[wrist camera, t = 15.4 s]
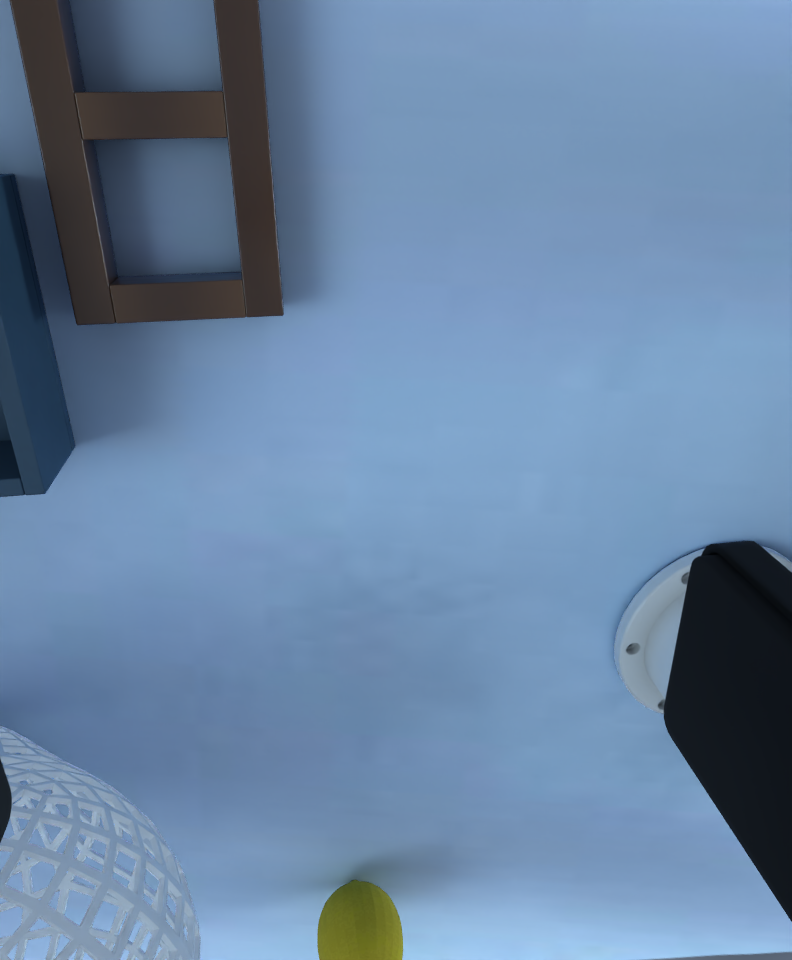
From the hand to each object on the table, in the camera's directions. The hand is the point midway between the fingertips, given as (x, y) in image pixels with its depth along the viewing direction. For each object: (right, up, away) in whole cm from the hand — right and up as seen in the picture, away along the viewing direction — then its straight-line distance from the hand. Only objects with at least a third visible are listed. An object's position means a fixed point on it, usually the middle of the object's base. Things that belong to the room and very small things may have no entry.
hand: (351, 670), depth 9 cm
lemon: (-2, -26, +41) cm, 49 cm away
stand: (-9, +17, +20) cm, 28 cm away
